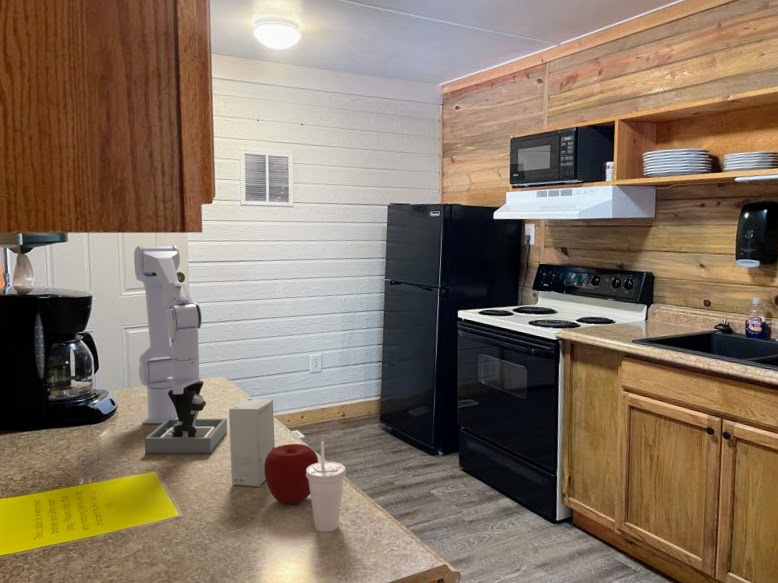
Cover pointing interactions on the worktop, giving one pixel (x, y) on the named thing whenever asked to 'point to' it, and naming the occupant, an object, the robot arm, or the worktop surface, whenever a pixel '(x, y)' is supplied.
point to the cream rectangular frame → (200, 431)
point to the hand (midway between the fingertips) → (187, 417)
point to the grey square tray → (186, 438)
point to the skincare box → (250, 440)
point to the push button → (188, 427)
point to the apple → (289, 472)
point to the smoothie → (326, 492)
